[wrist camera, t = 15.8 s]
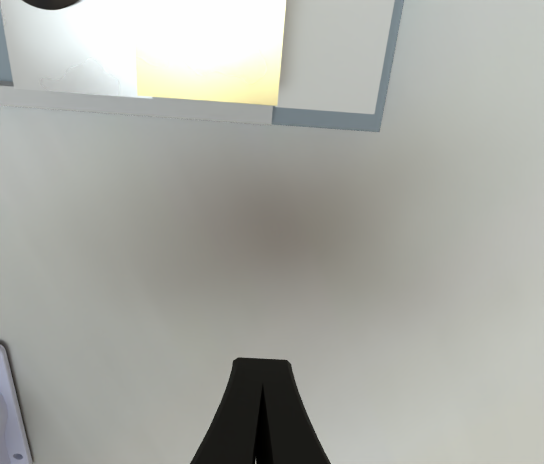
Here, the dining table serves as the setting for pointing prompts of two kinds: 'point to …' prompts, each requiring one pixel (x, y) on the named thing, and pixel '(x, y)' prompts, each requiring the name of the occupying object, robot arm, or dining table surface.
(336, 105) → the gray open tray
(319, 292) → the dining table surface
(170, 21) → the wooden block
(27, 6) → the free jaw
